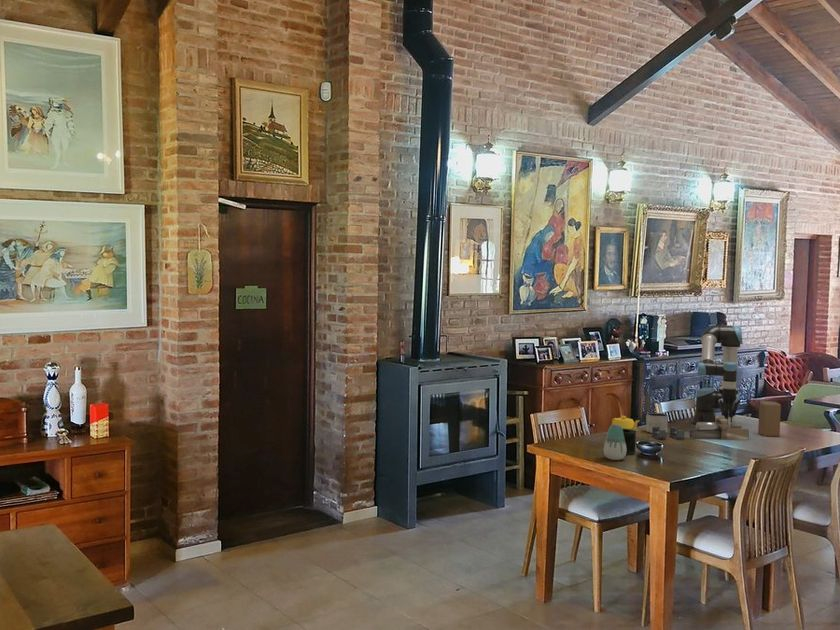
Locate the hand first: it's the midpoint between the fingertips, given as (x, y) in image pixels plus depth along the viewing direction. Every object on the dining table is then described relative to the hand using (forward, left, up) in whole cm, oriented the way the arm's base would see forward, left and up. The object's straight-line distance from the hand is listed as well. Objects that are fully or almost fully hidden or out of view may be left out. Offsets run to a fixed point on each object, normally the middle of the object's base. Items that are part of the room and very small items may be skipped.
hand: (728, 427), depth 480 cm
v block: (0, -37, -6) cm, 37 cm away
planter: (-17, -37, -7) cm, 41 cm away
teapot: (0, -63, -7) cm, 63 cm away
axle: (0, -10, +1) cm, 10 cm away
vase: (+54, -88, -7) cm, 103 cm away
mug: (+38, -78, -7) cm, 87 cm away
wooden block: (-10, +31, -7) cm, 33 cm away
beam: (0, -5, -6) cm, 8 cm away
